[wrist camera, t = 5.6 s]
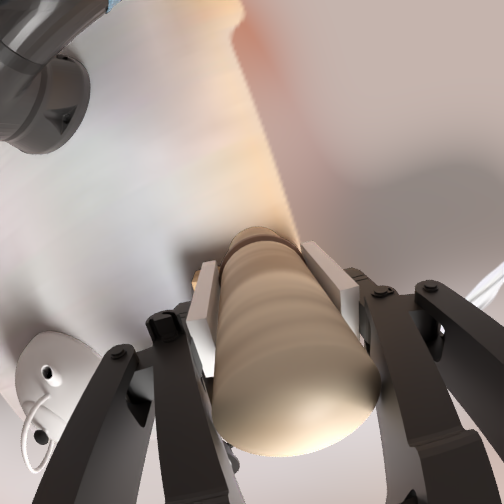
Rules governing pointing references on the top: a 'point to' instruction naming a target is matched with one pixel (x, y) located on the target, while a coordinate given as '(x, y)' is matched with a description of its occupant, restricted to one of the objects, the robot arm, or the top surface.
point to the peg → (284, 354)
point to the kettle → (52, 385)
